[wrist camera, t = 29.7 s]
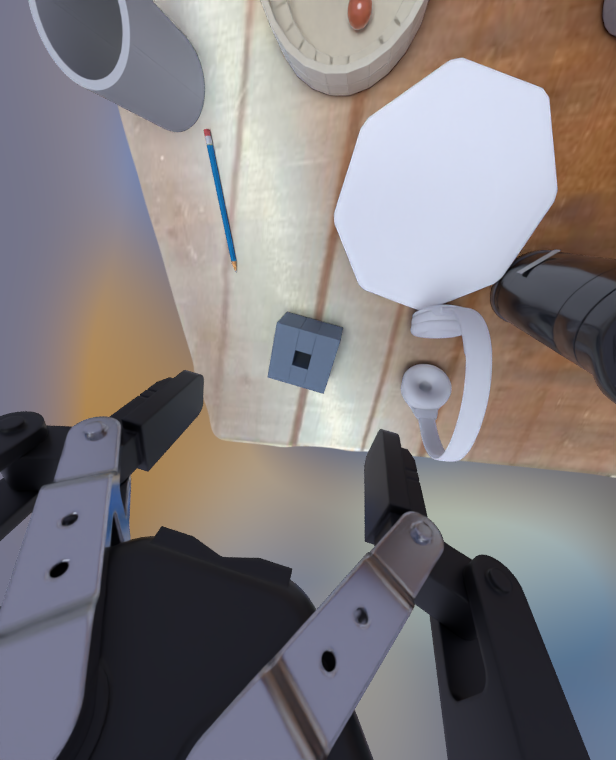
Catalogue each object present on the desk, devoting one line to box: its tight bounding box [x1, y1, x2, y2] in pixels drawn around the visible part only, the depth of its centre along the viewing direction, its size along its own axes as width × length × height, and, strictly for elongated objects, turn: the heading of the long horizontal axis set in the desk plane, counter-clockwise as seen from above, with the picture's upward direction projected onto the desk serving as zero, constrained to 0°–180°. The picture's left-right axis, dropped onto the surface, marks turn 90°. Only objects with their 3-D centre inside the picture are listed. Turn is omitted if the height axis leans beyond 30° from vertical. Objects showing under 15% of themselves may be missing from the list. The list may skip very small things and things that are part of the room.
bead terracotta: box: [347, 0, 372, 30], centre depth 26 cm, size 2×2×2 cm
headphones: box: [401, 305, 492, 462], centre depth 34 cm, size 7×18×20 cm, turn 2°
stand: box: [268, 312, 343, 394], centre depth 43 cm, size 10×10×6 cm
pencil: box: [204, 129, 236, 272], centre depth 38 cm, size 1×17×1 cm, turn 5°
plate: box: [334, 58, 558, 310], centre depth 33 cm, size 24×24×2 cm
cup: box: [28, 0, 205, 132], centre depth 27 cm, size 9×9×12 cm
